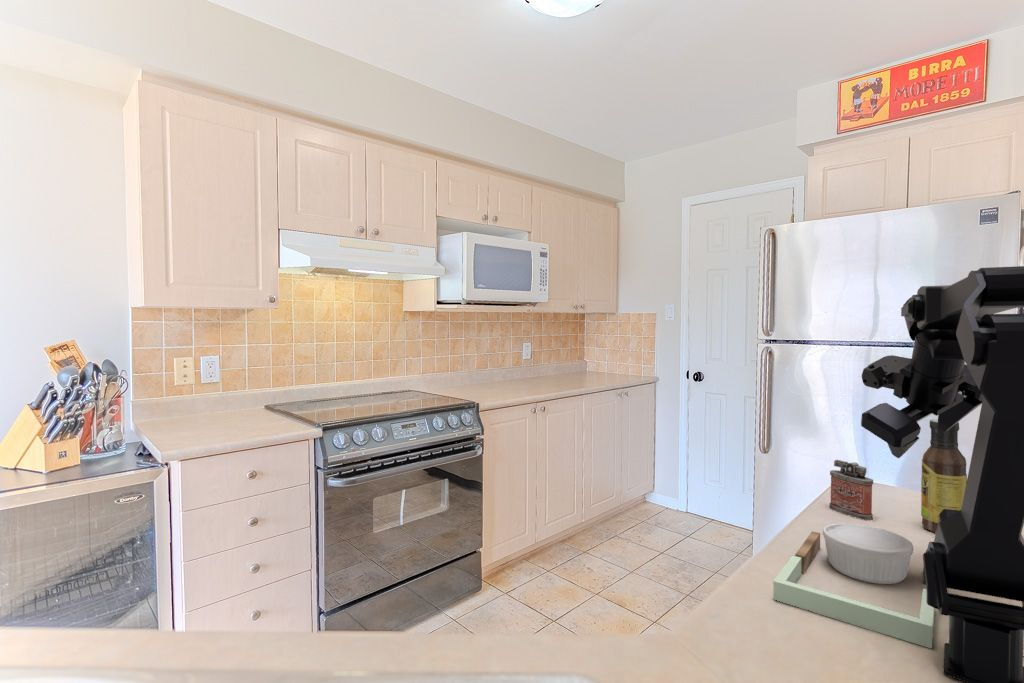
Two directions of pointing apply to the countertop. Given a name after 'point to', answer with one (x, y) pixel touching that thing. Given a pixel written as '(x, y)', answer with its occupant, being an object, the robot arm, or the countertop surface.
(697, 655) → the countertop surface
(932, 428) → the sauce bottle
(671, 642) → the countertop surface
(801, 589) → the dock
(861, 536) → the ramekin
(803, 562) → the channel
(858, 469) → the lighter
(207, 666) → the countertop surface
